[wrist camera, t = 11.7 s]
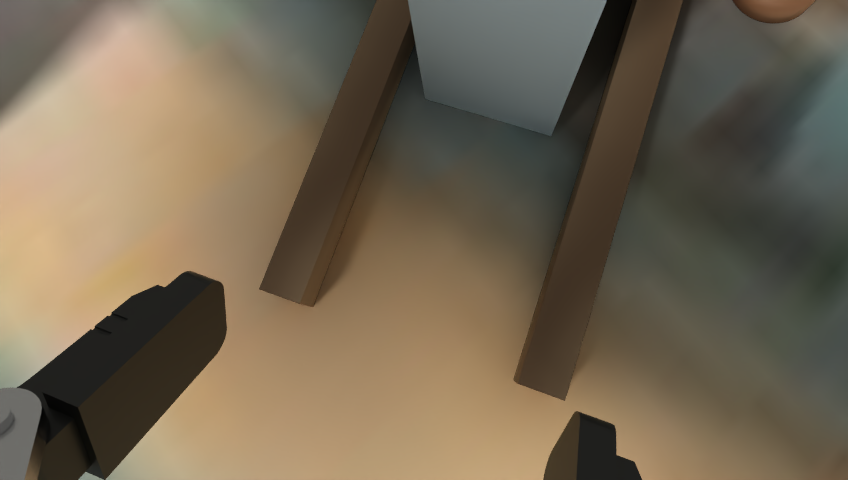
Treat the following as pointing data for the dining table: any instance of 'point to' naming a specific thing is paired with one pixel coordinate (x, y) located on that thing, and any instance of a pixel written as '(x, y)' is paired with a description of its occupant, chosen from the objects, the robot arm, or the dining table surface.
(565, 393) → the guide channel
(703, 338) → the dining table surface
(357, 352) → the dining table surface
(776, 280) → the dining table surface
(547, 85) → the gray block
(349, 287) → the dining table surface
